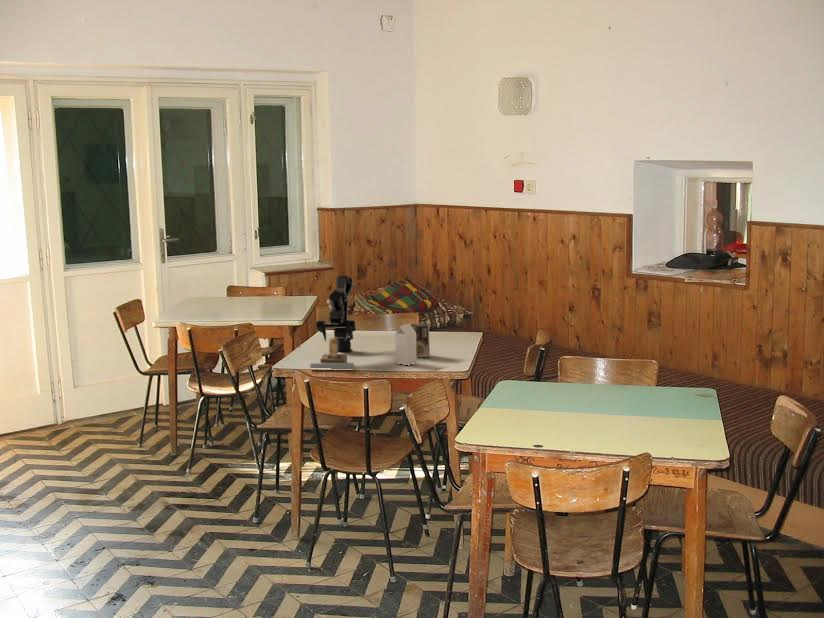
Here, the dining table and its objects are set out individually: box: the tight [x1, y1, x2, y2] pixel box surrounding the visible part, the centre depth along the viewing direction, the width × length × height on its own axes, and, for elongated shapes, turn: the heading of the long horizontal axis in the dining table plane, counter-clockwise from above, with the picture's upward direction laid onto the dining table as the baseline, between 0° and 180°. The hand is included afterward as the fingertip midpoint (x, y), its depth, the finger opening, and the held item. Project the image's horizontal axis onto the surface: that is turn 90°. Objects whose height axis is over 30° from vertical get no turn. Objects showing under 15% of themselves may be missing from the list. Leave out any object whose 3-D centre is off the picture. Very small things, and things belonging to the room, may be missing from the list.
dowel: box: [328, 337, 339, 358], centre depth 450 cm, size 4×4×13 cm
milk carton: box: [394, 323, 418, 366], centre depth 454 cm, size 7×7×19 cm
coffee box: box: [410, 323, 431, 358], centre depth 469 cm, size 9×6×16 cm
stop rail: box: [309, 362, 355, 370], centre depth 445 cm, size 2×20×4 cm, turn 87°
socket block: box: [320, 353, 348, 363], centre depth 451 cm, size 11×11×5 cm
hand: (334, 340), depth 454 cm, fingers open, 9 cm apart
